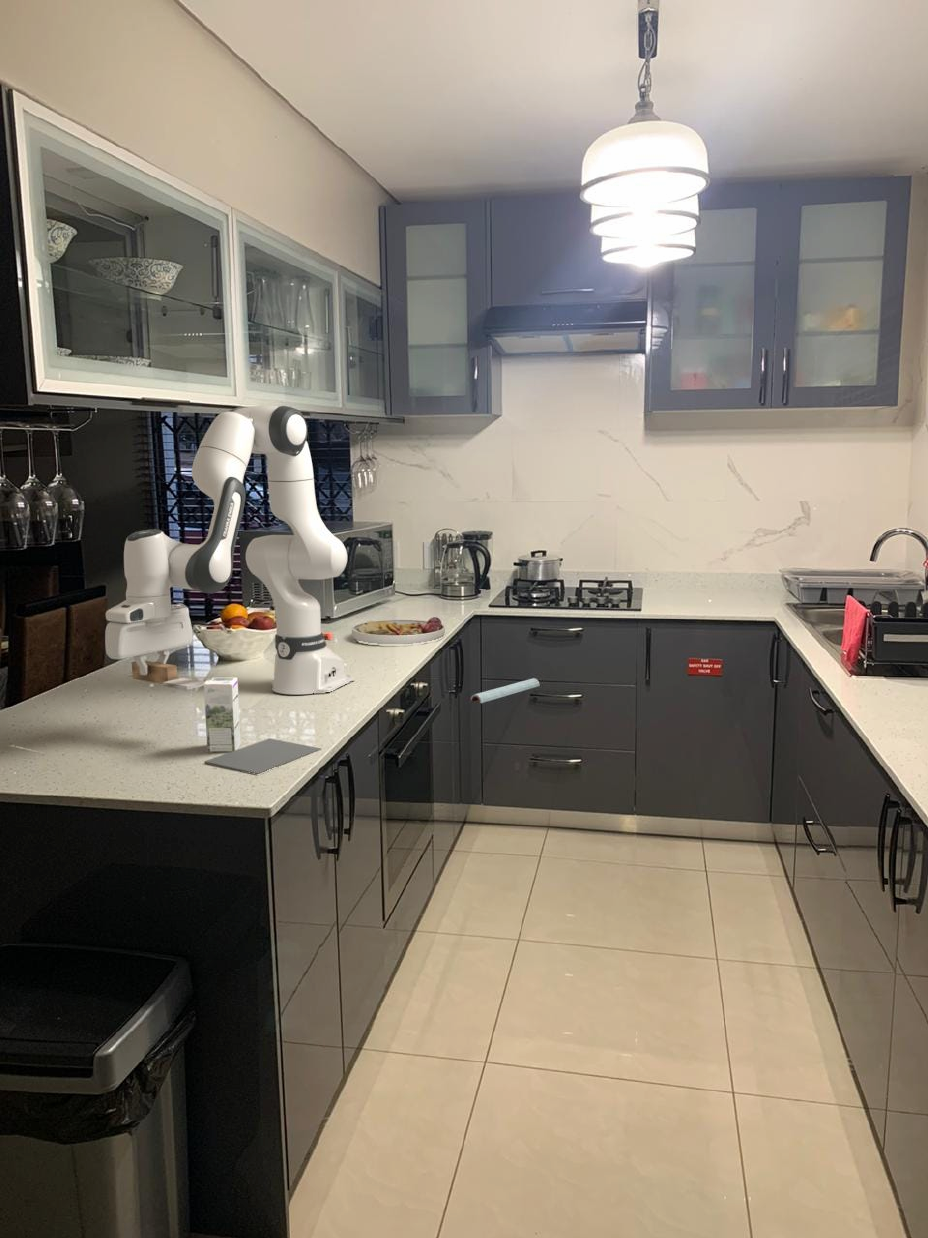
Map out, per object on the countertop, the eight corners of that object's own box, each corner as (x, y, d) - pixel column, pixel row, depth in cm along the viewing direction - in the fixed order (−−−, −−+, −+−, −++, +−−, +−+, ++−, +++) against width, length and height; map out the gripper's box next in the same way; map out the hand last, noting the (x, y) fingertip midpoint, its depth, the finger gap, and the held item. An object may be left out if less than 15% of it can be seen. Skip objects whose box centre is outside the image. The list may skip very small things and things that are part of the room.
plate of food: (358, 653, 290) (358, 628, 289) (346, 636, 319) (345, 613, 318) (454, 648, 298) (454, 624, 296) (434, 632, 326) (433, 609, 325)
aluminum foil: (529, 690, 244) (529, 677, 243) (550, 694, 239) (550, 681, 239) (470, 707, 227) (470, 693, 227) (491, 712, 223) (491, 697, 222)
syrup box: (241, 744, 196) (238, 676, 194) (235, 753, 190) (232, 682, 188) (213, 745, 196) (209, 676, 194) (206, 754, 190) (202, 683, 188)
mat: (269, 741, 199) (269, 738, 199) (321, 751, 191) (321, 748, 191) (204, 764, 184) (204, 761, 183) (258, 776, 176) (258, 773, 176)
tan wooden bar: (127, 679, 202) (126, 663, 202) (146, 675, 206) (146, 659, 206) (186, 690, 193) (186, 672, 192) (205, 685, 197) (204, 668, 196)
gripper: (177, 600, 210) (181, 662, 212) (98, 613, 192) (103, 680, 195) (197, 602, 206) (200, 665, 208) (119, 616, 189) (123, 684, 191)
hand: (153, 672), depth 201 cm, fingers closed on tan wooden bar, 2 cm apart
